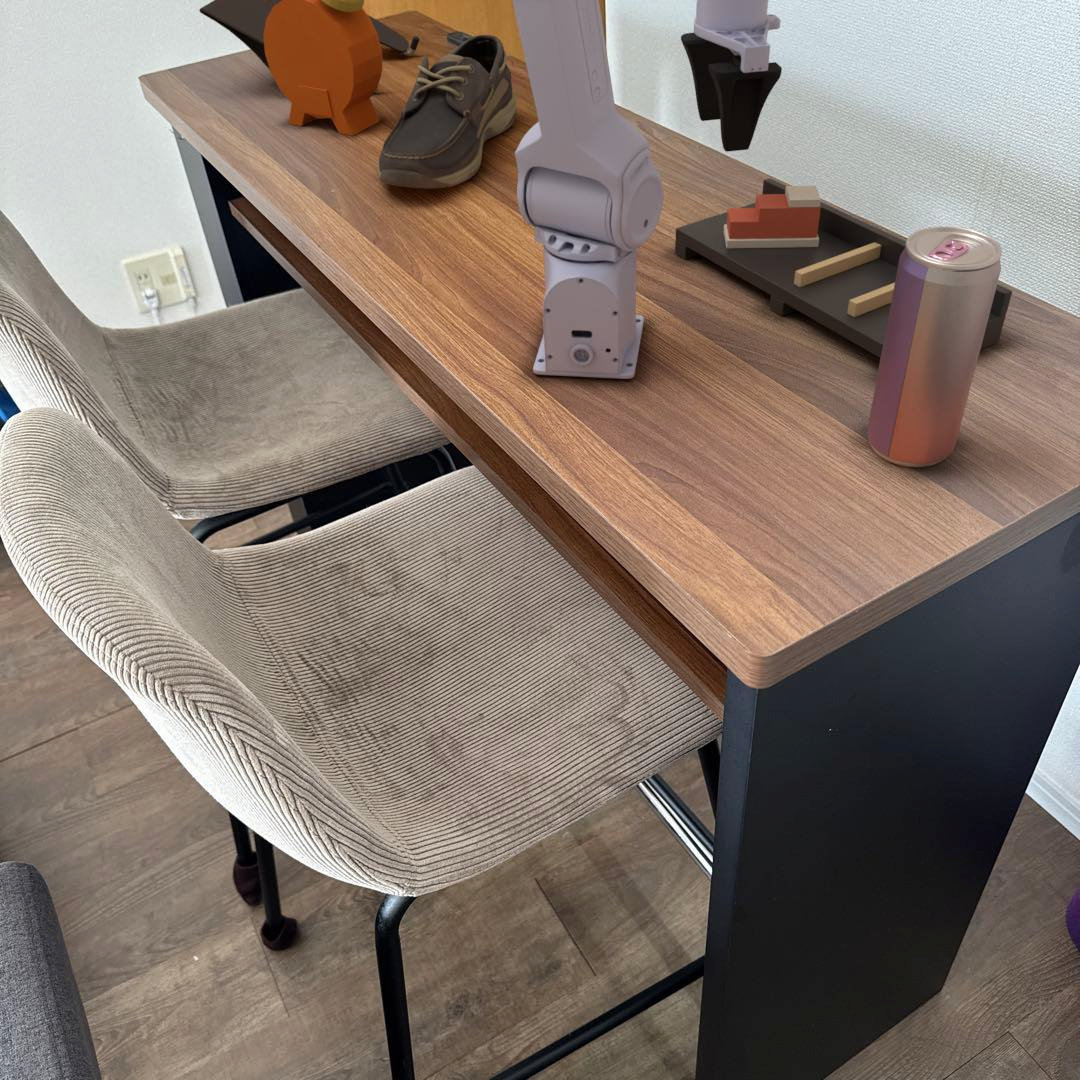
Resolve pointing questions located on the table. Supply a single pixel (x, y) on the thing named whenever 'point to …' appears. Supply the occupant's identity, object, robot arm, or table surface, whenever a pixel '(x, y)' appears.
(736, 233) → the stepped block
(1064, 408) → the table surface
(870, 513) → the table surface
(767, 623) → the table surface
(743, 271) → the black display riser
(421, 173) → the boat shoe
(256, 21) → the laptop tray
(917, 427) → the beverage can
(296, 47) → the alarm clock
